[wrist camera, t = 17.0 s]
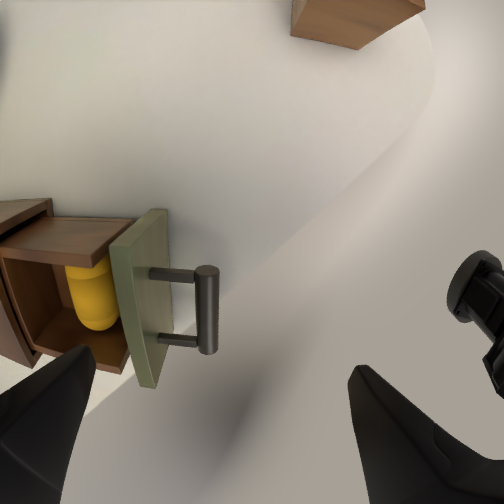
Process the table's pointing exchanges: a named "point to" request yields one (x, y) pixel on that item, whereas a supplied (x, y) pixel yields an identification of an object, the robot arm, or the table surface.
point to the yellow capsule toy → (94, 294)
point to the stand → (349, 19)
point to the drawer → (126, 286)
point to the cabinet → (3, 316)
